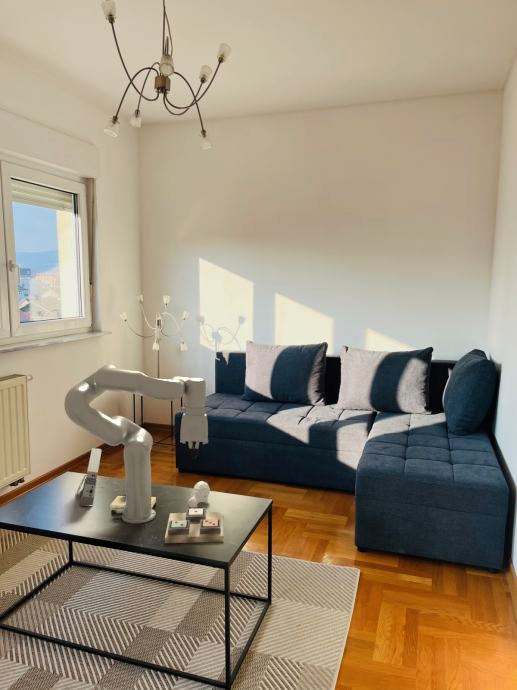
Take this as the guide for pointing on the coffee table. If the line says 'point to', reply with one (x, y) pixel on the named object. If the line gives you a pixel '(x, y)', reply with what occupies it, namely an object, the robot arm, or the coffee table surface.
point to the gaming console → (90, 478)
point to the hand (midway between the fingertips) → (193, 457)
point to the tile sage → (179, 524)
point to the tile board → (195, 528)
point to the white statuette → (199, 494)
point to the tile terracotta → (210, 523)
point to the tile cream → (196, 512)
